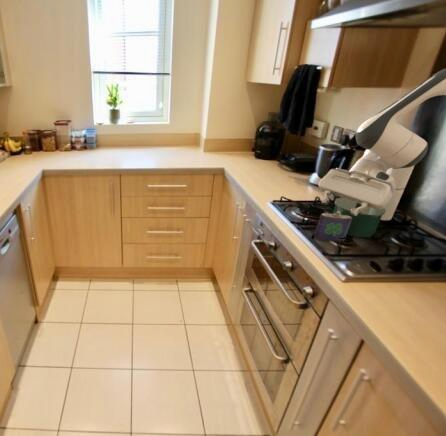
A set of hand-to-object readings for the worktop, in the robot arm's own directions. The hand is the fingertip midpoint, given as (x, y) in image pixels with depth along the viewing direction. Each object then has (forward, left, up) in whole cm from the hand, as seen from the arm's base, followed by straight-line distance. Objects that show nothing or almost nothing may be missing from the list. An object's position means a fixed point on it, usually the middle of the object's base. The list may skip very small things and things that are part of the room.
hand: (337, 208), depth 104 cm
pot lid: (0, -14, -3) cm, 14 cm away
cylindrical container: (0, -33, -11) cm, 35 cm away
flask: (-1, +1, -11) cm, 11 cm away
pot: (0, -14, -11) cm, 18 cm away
